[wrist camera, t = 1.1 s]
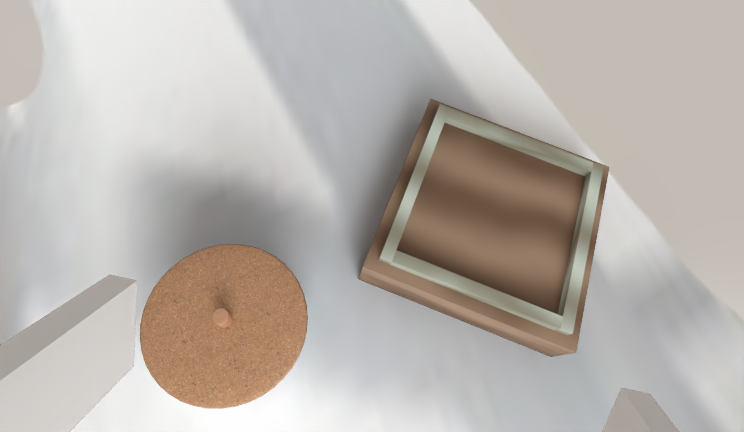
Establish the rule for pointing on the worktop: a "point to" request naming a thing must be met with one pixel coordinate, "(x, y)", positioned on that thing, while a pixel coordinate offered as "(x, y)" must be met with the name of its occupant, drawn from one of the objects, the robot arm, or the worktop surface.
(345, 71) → the worktop surface
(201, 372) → the lidded jar
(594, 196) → the tray
